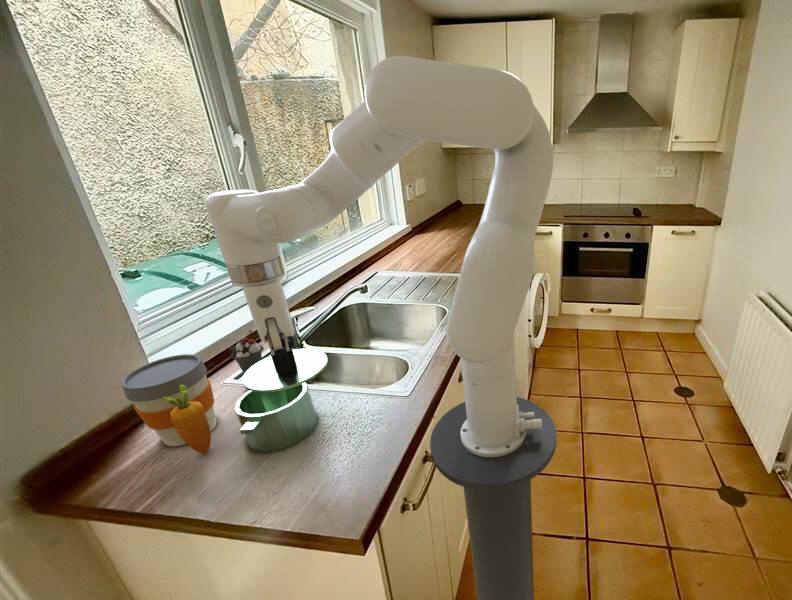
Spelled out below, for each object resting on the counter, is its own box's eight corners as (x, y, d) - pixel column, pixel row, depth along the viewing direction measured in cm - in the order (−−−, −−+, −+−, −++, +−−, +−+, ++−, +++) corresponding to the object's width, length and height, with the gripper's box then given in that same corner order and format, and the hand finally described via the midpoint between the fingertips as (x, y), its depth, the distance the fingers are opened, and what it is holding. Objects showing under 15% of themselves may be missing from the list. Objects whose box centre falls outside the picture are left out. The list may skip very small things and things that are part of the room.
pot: (331, 400, 90) (322, 369, 86) (292, 460, 73) (280, 424, 70) (276, 403, 89) (265, 372, 86) (225, 464, 73) (209, 428, 70)
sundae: (281, 381, 98) (264, 327, 92) (258, 397, 92) (238, 341, 86) (261, 377, 100) (242, 325, 94) (237, 393, 94) (216, 338, 88)
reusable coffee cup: (220, 403, 90) (197, 347, 84) (232, 429, 82) (207, 368, 76) (149, 431, 82) (118, 371, 76) (154, 463, 74) (120, 398, 68)
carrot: (199, 466, 73) (168, 400, 67) (184, 458, 75) (152, 394, 69) (226, 448, 77) (199, 384, 71) (211, 441, 79) (184, 379, 73)
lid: (339, 351, 77) (332, 321, 74) (309, 393, 65) (299, 359, 62) (270, 354, 77) (260, 324, 74) (226, 397, 64) (212, 363, 62)
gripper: (286, 279, 58) (315, 381, 66) (280, 255, 71) (304, 343, 78) (226, 289, 55) (263, 397, 62) (231, 262, 67) (261, 354, 75)
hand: (286, 366), depth 70 cm, fingers closed on lid, 2 cm apart
